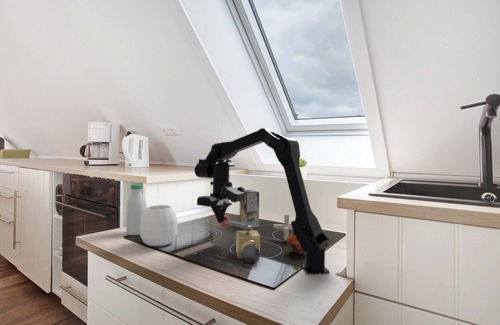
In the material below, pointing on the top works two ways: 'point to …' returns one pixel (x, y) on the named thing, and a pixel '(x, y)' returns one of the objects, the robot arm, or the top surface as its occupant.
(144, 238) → the white faceted vase
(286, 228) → the pipe connector
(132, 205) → the milk bottle
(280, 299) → the top surface
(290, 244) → the pomegranate
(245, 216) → the coffee box
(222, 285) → the top surface
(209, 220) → the top surface
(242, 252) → the valve
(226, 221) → the lever
